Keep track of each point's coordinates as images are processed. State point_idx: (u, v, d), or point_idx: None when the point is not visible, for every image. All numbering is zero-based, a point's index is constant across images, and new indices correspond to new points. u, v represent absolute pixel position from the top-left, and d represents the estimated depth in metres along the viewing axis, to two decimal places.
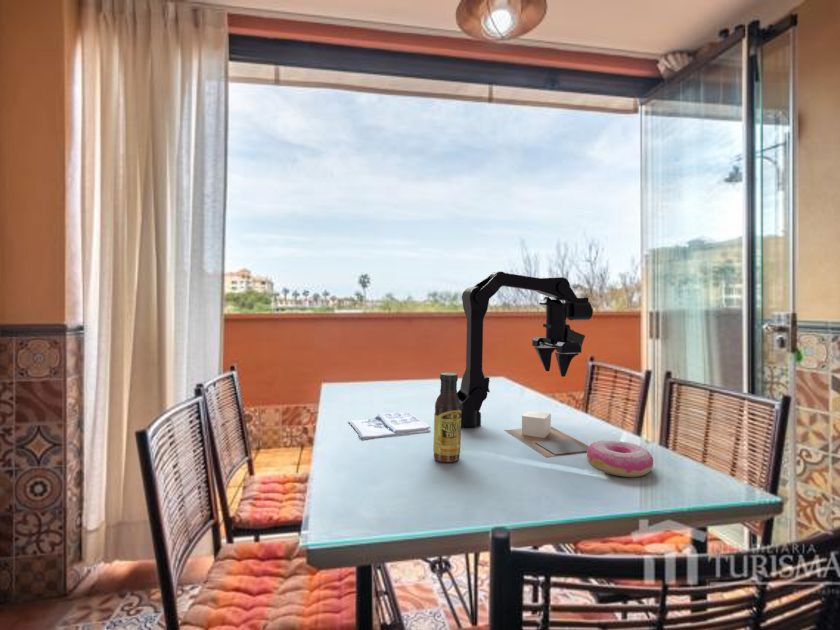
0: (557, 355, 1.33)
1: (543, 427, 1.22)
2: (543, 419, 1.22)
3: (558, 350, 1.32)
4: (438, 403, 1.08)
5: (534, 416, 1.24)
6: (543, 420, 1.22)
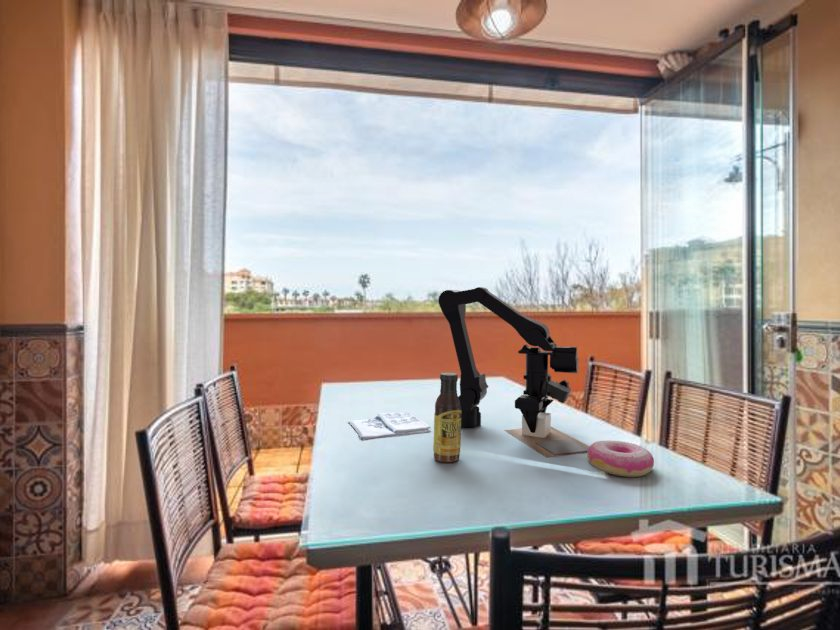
0: None
1: (543, 427, 1.22)
2: (543, 419, 1.22)
3: None
4: (438, 403, 1.08)
5: None
6: (543, 420, 1.22)
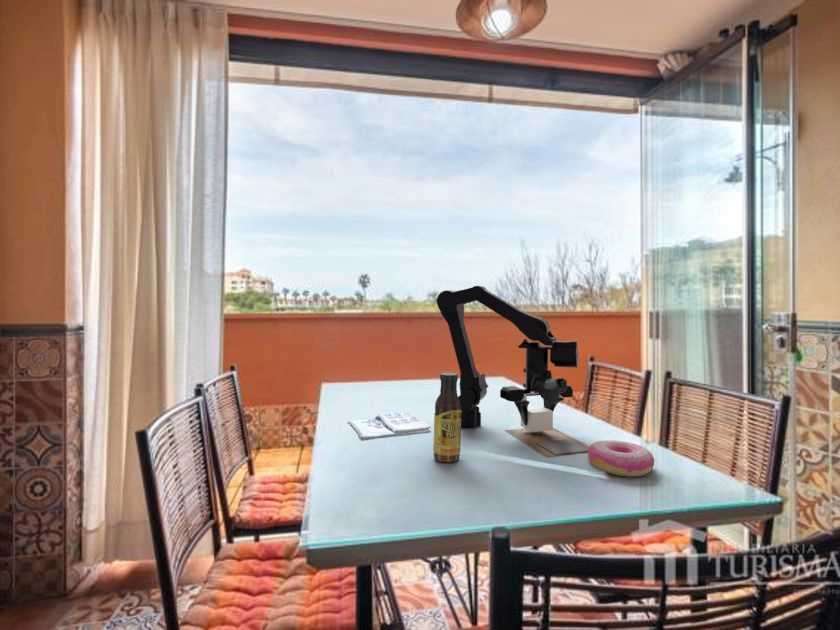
0: None
1: (531, 421, 1.23)
2: (531, 413, 1.23)
3: None
4: (438, 403, 1.08)
5: (529, 409, 1.26)
6: (531, 414, 1.23)
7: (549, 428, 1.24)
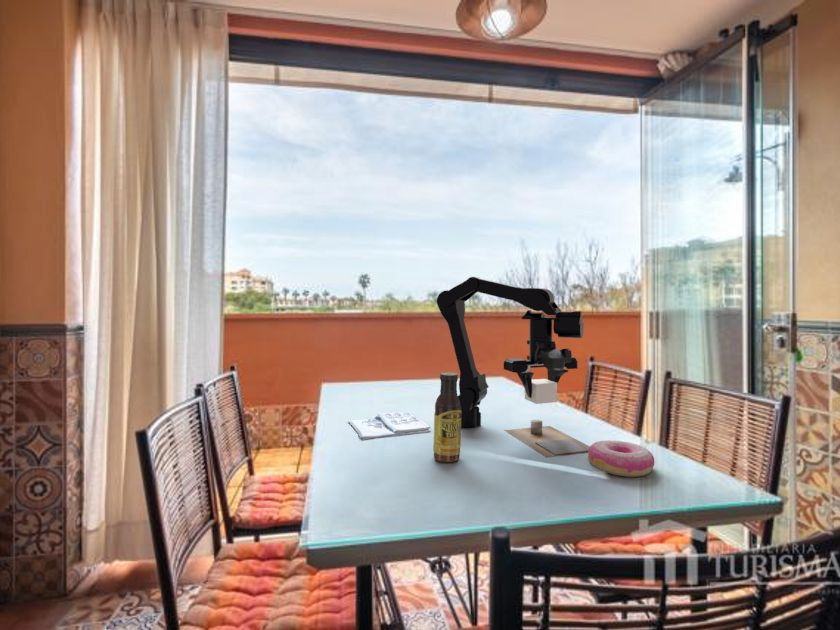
0: None
1: (535, 393, 1.21)
2: (535, 385, 1.21)
3: None
4: (438, 403, 1.08)
5: (533, 382, 1.24)
6: (535, 386, 1.21)
7: (553, 400, 1.22)
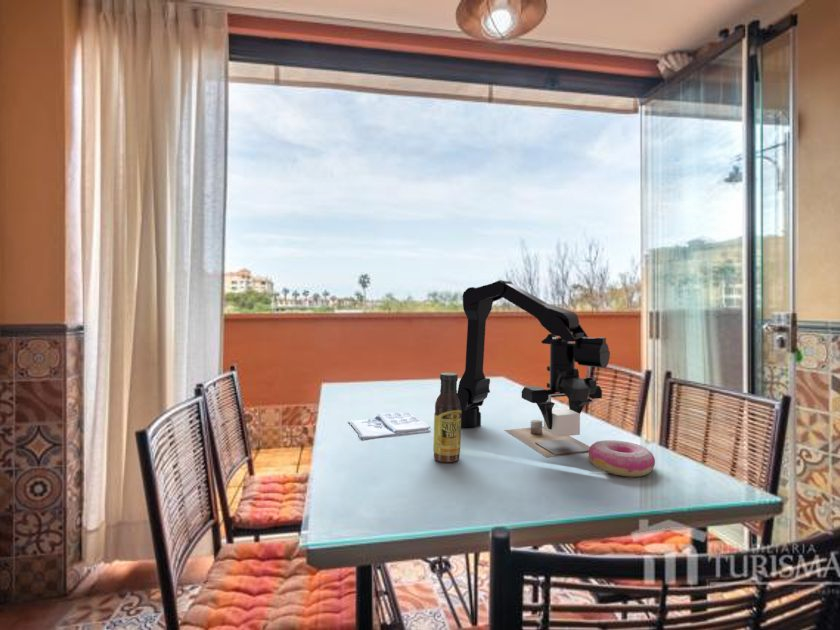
0: None
1: (556, 425, 1.11)
2: (556, 416, 1.11)
3: None
4: (438, 403, 1.08)
5: (554, 412, 1.14)
6: (556, 417, 1.11)
7: (576, 432, 1.12)
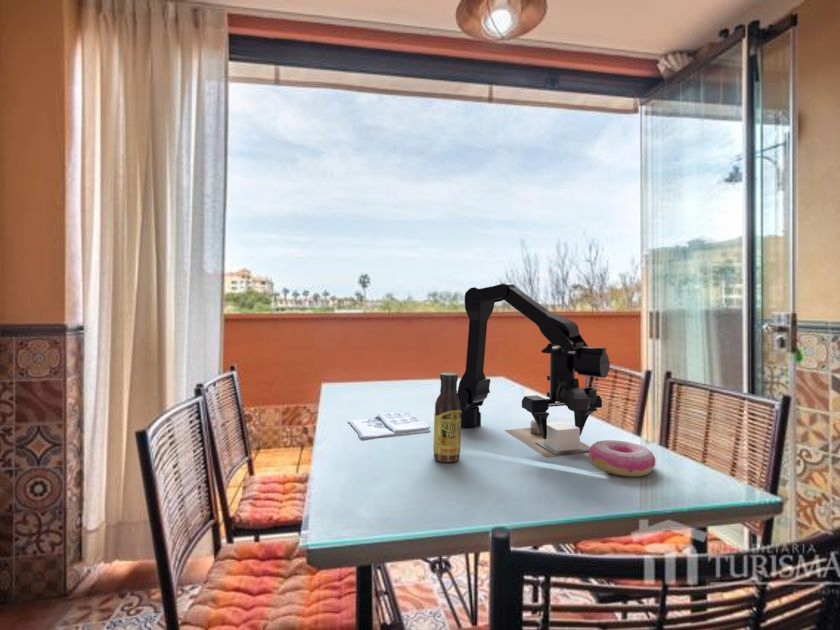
0: None
1: (556, 439, 1.12)
2: (556, 430, 1.11)
3: None
4: (438, 403, 1.08)
5: (553, 426, 1.14)
6: (556, 432, 1.11)
7: (576, 447, 1.13)
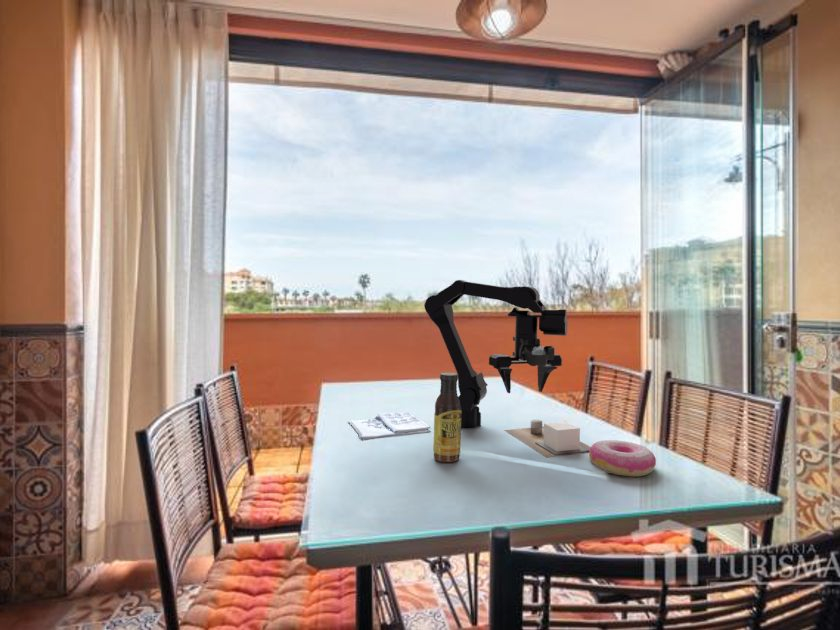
0: None
1: (556, 439, 1.12)
2: (556, 430, 1.11)
3: None
4: (438, 403, 1.08)
5: (553, 426, 1.14)
6: (556, 432, 1.11)
7: (576, 447, 1.13)
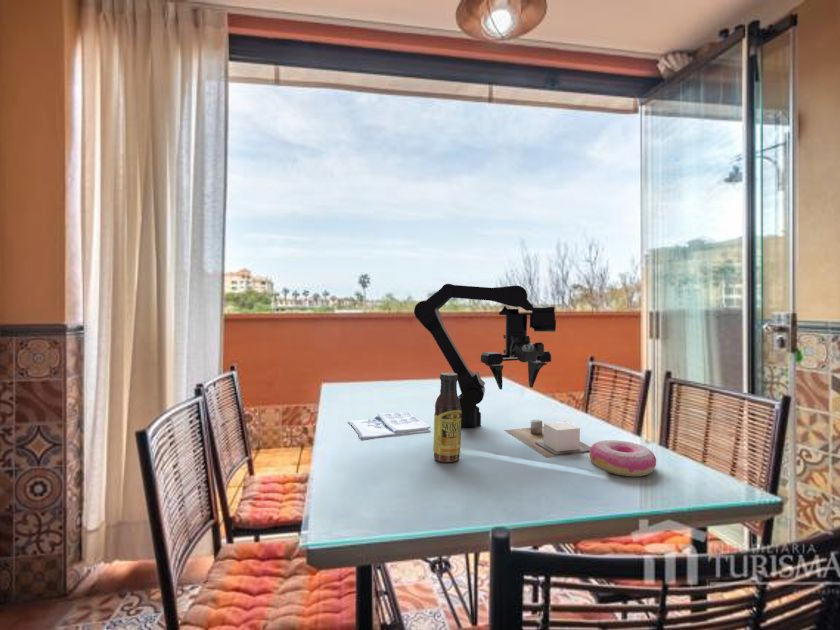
0: None
1: (556, 439, 1.12)
2: (556, 430, 1.11)
3: None
4: (438, 403, 1.08)
5: (553, 426, 1.14)
6: (556, 432, 1.11)
7: (576, 447, 1.13)
